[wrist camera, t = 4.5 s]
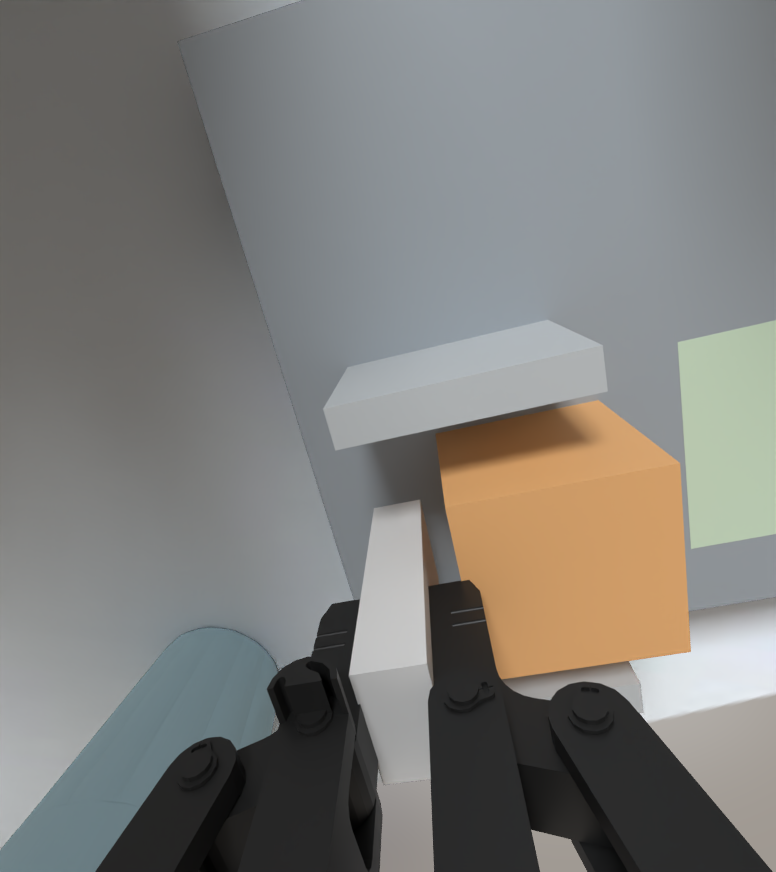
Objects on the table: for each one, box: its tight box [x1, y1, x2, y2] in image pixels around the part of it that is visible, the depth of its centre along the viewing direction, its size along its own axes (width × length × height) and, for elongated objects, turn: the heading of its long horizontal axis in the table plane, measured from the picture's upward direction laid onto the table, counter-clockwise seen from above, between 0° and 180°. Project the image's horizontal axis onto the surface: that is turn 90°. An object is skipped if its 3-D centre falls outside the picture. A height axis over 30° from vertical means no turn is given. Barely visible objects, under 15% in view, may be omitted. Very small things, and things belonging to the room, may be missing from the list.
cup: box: [0, 628, 278, 872], centre depth 19 cm, size 8×8×10 cm
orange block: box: [436, 400, 691, 679], centre depth 14 cm, size 5×5×5 cm
